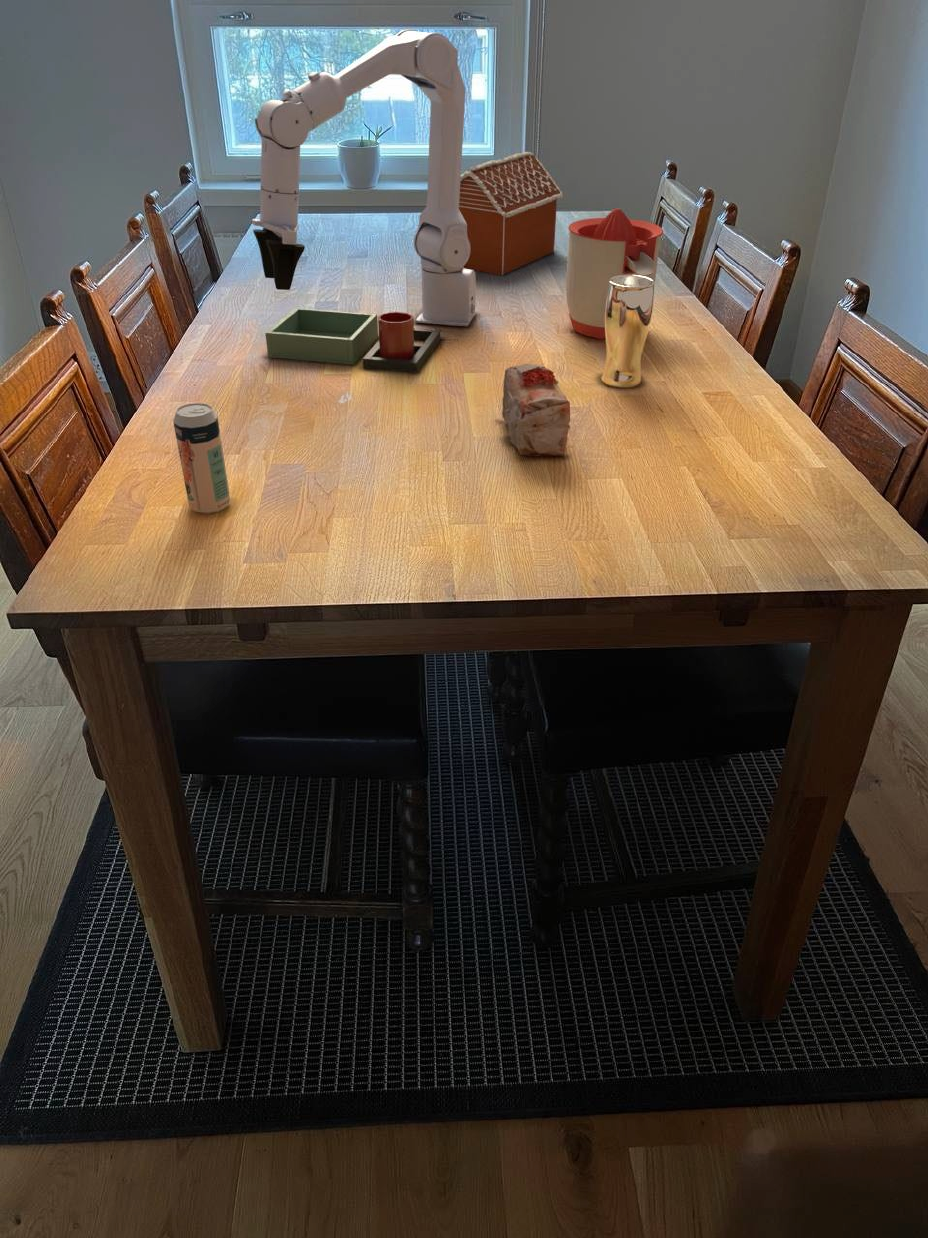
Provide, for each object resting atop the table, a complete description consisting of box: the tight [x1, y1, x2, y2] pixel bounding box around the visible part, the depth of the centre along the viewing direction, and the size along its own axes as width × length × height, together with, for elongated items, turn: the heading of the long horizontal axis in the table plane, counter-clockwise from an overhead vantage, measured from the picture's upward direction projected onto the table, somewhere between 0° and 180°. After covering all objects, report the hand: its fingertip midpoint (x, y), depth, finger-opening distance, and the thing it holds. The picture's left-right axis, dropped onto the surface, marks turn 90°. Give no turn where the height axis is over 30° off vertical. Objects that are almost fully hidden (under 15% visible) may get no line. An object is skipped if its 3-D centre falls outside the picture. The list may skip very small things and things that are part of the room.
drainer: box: [362, 327, 442, 373], centre depth 150 cm, size 9×16×2 cm, turn 168°
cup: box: [377, 311, 415, 360], centre depth 146 cm, size 6×6×7 cm
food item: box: [501, 363, 571, 457], centre depth 120 cm, size 14×8×10 cm, turn 10°
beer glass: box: [600, 275, 656, 388], centre depth 137 cm, size 7×7×15 cm
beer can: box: [172, 402, 232, 515], centre depth 104 cm, size 5×5×12 cm
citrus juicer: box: [565, 207, 664, 341], centre depth 155 cm, size 16×17×20 cm
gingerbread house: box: [459, 151, 564, 276], centre depth 194 cm, size 18×26×20 cm
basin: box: [264, 307, 379, 366], centre depth 151 cm, size 15×14×4 cm
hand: (277, 283), depth 146 cm, fingers open, 7 cm apart
